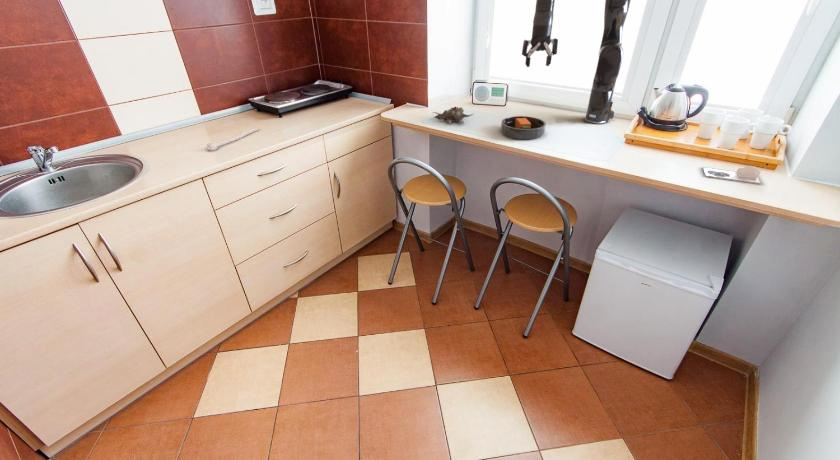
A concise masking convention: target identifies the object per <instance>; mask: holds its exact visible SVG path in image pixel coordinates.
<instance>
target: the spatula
mask: <svg viewBox="0 0 840 460" xmlns="http://www.w3.org/2000/svg"><path fill="white" fill-rule="evenodd" d="M259 129H260V128H259V127H254V128H253V127H252V128H251V129H249V130H245V131H243V132H241V133H238V134H236V135H234V136H232V137H229V138H227V139H226V138H225V139H224V140H220V141H218V142H209V143H207V144H206V150H208V151H210V152H211V151H216V150H217V149H218V148H219V147H221V146H223V145H228V144H230V143H233V142H235V141H237V140H240V139H242V138H244V137H246V136H248V135H250V134H252V133H255V132H256V131H258V130H259ZM235 138H236V139H235ZM228 141H229V142H228ZM223 143H224V144H223ZM215 147H216V148H215ZM208 148H210V149H208ZM211 148H213V149H211Z"/></svg>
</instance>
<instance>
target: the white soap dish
mask: <svg viewBox="0 0 840 460" xmlns="http://www.w3.org/2000/svg"><path fill="white" fill-rule="evenodd" d="M702 170H703V173H704V176H705V177H706V178H712V179H721V180H728V181H734V182H741V183H748V184H749V183H750V184H755V185H761V184H762V183H761V180H760V179H759V178H760V175H761V170H760V169H758V168H757V166H754V165H745V166H743V167H739V168H737V170H736V171H730V170H724V169H716V168H709V167H703V168H702Z"/></svg>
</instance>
